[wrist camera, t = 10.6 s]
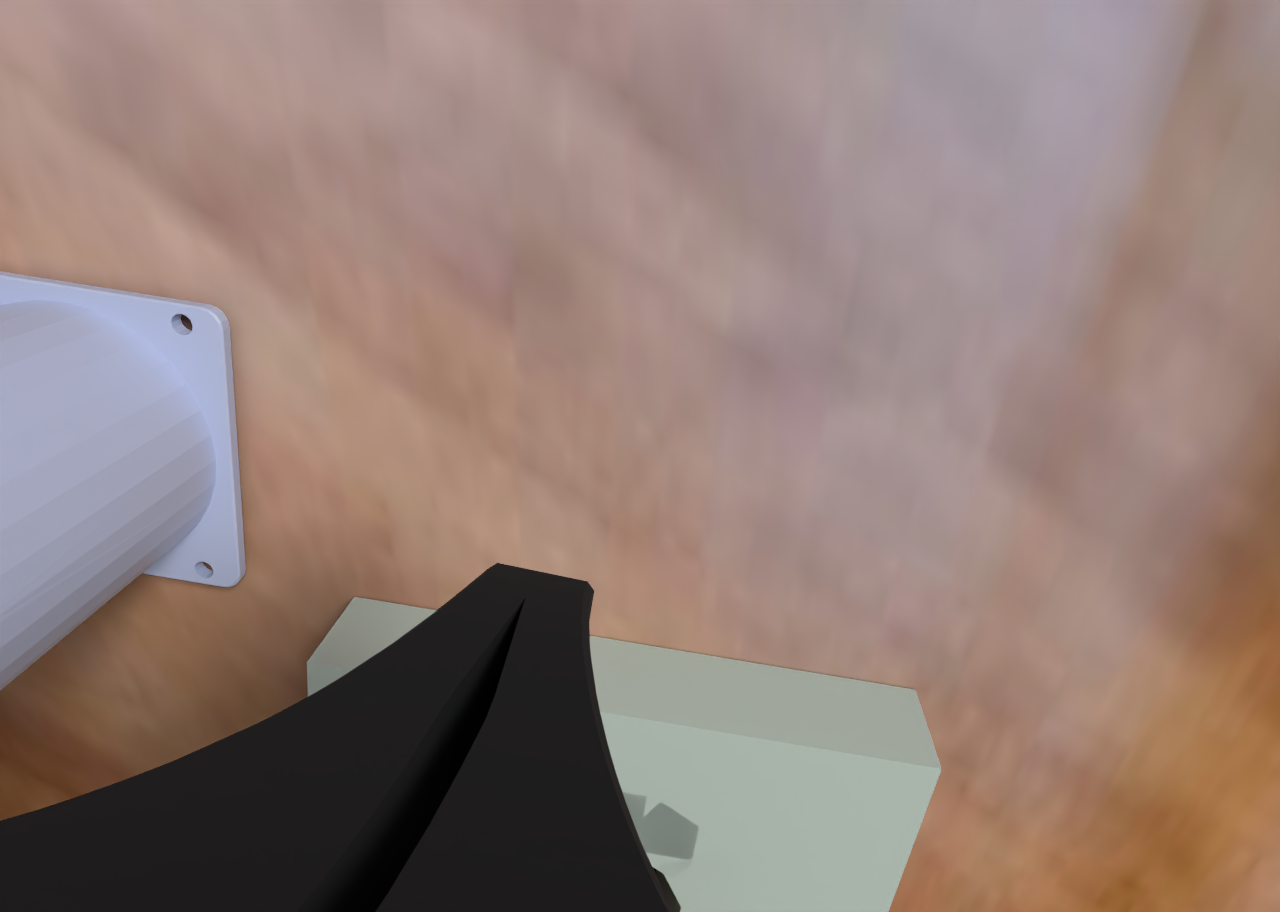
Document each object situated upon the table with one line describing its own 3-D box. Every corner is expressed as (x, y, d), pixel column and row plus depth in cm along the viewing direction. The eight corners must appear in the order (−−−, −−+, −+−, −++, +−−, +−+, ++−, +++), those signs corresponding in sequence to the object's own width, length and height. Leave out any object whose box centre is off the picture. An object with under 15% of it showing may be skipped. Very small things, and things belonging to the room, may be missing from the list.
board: (355, 929, 29) (318, 1015, 27) (354, 596, 24) (306, 662, 21) (807, 1009, 29) (816, 1104, 26) (915, 689, 23) (941, 769, 21)
